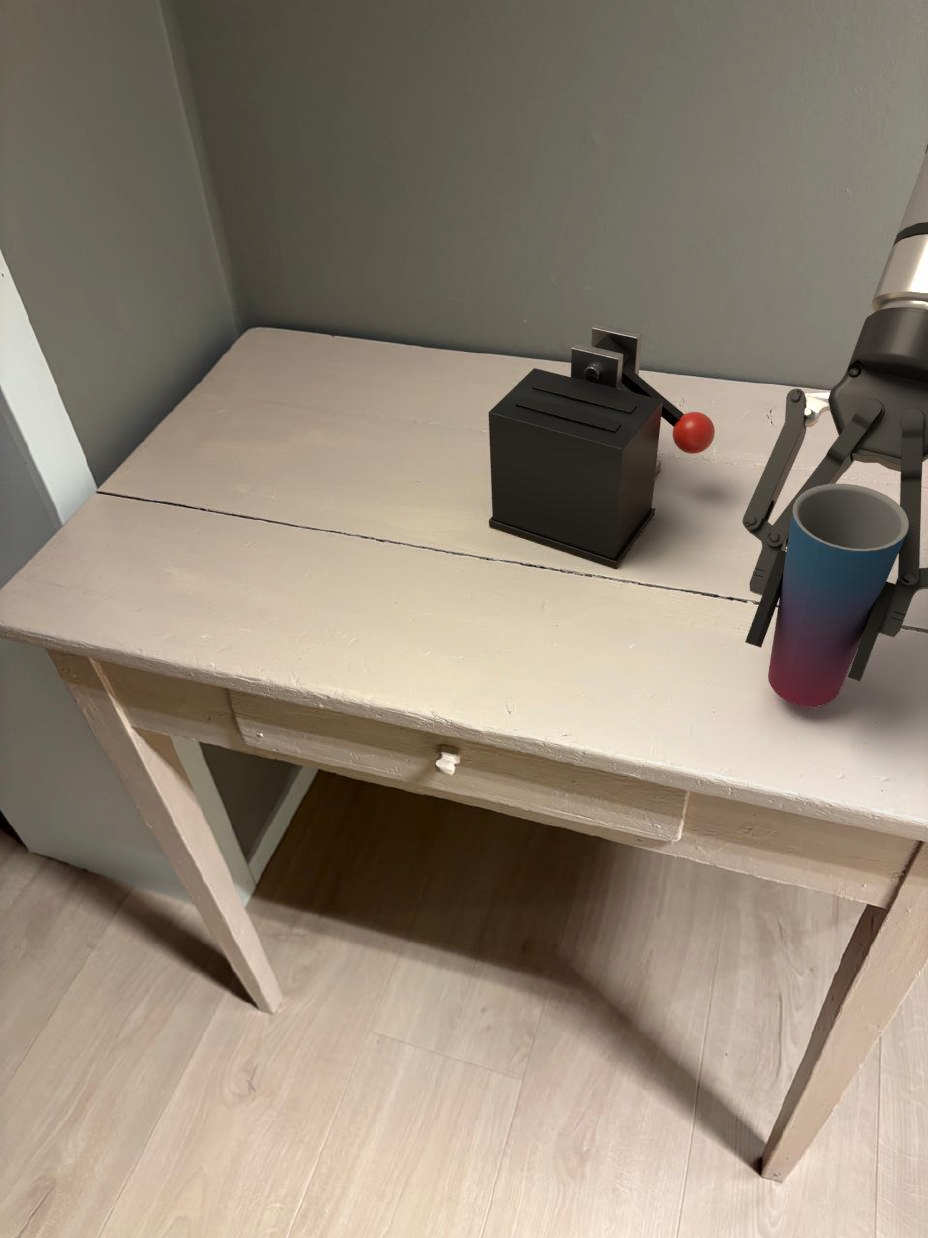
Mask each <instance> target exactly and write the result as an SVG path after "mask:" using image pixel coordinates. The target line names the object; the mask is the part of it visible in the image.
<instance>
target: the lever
mask: <svg viewBox="0 0 928 1238" xmlns="http://www.w3.org/2000/svg"><path fill="white" fill-rule="evenodd" d="M594 347H595V348H600V349H604V350H608V351H612V352H617V353H621V354H623V364H622V379H621V383H622V384H623V385H624V386H625V387H627V388H628V389H629V390H630V391H631V392H633V393H636V394H640V395H644V396H648V397H652V398H656V399H660V400H663V405H662V415H661V419H663V420H665V422H667V423H668V424H669V425H671V426H672V427H673V428H672V439H673V442H674V445H675V446H676V447H677V448H678V449H679V450H680V451H681V452H684V453H686V454H690V455H691V454H693V455H696V454H699V453H702V452H705V451H706V450H707V449H708V448H709V447H710V446H711V445H712V443H713V441H714V439H715V434H716V428H715V425H714V423H713V421H712V419H711V418H710V417H709V416H708V415H707V414H705V413H703V412H699V411H690V412H686V413H684V412H682V411H681V410H680V409H679V408H678V407H677V406H675V405H674V404H673V403H672V402H671V401H669V400H668V399H667V398H666V397H664V395H663V394H661V393H660V392H659V391H658V390H656V389H655V388H654V387H653V386H652V385H650V384H649V383H648V382H647V381H645V380H644V379H643V378H642V377H641V376H640V375H639V376H638V375H637V374H636V373H635V372H633V371H632V370H631V369H630V368H629V367H628V366H626V365H625V364H624V363H625V361H626V360H627V359H628V358H629V356H630V354H629V353H627V352H626V351H625V350H624V349H623V348H621V347H620V346H619V345H618V344H617V343H615V342H614V341H613V340H612V339H611V338H610V337H608V336H607V335H605V336H604V337H603V338H602V339H601V340H600V341H599V342H598V343H597V344H596V345H595V346H594Z"/></svg>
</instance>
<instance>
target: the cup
mask: <svg viewBox="0 0 928 1238" xmlns="http://www.w3.org/2000/svg"><path fill="white" fill-rule="evenodd" d="M908 529H909V520H908V518H907V515H906V513H905V512H904V510H903V509H902V507H901V506H900V503H898V502H896V501H895V500H894V499H893V498H891V497H890V496H888V495H887V494H884V493H882V492H880V491H878V490H875V489H873V488H870V487H867V486H862V485H859V484H858V485H857V484H852V483H835V484H826V485H821V486H817V487H814V488H811V489H809V490H807V491H805V492H804V493H802V494H801V495H800V496H799V497H798V498H797V499H796V501H795V503H794V505H793V511H792V517H791V524H790V531H789V538H788V544H787V547H786V549H787V550H786V558H785V565H784V572H783V579H782V585H781V592H780V598H779V600H778V604H777V606H778V607H777V614H776V618H775V625H774V633H773V640H772V645H771V646H772V647H771V653H770V660H769V666H768V673H767V679H768V684H769V685H770V687H771V689H772V690H773V691H774V692H775V694H776V695H778V696H779V697H780V698H781V699H783V700H785V701H787V702H789V703H791V704H794V705H797V706H802V707H807V708H809V707H811V708H813V707H820V706H824V705H827V704H830V703H831V702H833V701H834V700H835V699H836V698H837V697H838V696H839V694H840V692H841V689H842V687H843V684H844V682H845V680H846V678H847V676H848V674H849V671H850V668H851V666H852V663H853V660H854V658H855V655H856V652H857V650H858V647H859V644H860V642H861V639H862V636H863V634H864V631H865V628H866V626H867V623H868V620H869V617H870V615H871V612H872V609H873V607H874V604H875V601H876V599H877V598H878V596H879V594H880V593H881V591H882V589H883V587H884V586H885V584H886V581H887V582H888V579H889V576H890V574H891V572H892V569H893V568H894V565H895V562H896V560H897V558H898V555H899V551H900V548H901V546H902V544H903V541H904V539H905V537H906V534H907V532H908Z"/></svg>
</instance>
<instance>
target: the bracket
mask: <svg viewBox="0 0 928 1238" xmlns="http://www.w3.org/2000/svg"><path fill="white" fill-rule="evenodd" d="M605 335H607V336H608V337H610V338H611V339H612V340H613V341H614V342H615V343H617V344H618V345H619V346H620V347H621V348H623V349H624V350H625V351H626V352H627V353H629V354H630V356H629V358H628V359H627V360H626V361H625V363H624V364H625V365H626V366H628V367H629V368H630V369H631V370H632V371H633V372H635V373H636V374H637V375H638V376H639V377H640V374H639V373H640V367H641V366H640V365H641V354H642V353H641V352H642V341H643V333H642V332H638V331H633V330H629V329H624V328H621V327H615V326H612V325H611V326H610V325H606V324H601V323H595V324H594V325H593V326H592V327H591V341H590V342H591V343H590V345H587V344H582V343H578V342H576V343H574V345H573V346H572V347H571V350H570V351H571V355H570V377H572V378H576V379H580V380H584V381H588V382H592V383H596V384H600V385H604V386H608V387H612V388H616V389H620V390H624V391H628V392H631V391H630V390H629V389H628V388H627V387H625V386H624V385H623V384H622V383H621V379H622V364H623V354H621V353H617V352H612V351H608V350H604V349H600V348H595V347H594V346H595V345H596V344H597V343H598V342H599V341H600V340H601V339H602V338H603V337H604V336H605ZM632 393H633V392H632ZM661 467H662V459H660V458H657V462H656V472H655V477H657V475H658V473H659V472H660V471H661V469H662V468H661Z"/></svg>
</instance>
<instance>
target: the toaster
mask: <svg viewBox="0 0 928 1238" xmlns="http://www.w3.org/2000/svg"><path fill="white" fill-rule="evenodd" d="M662 405H663V400H660V399H656V398H652V397H648V396H644V395H640V394H636V393H632V392H628V391H624V390H620V389H616V388H612V387H608V386H604V385H600V384H596V383H592V382H588V381H584V380H580V379H576V378H572V377H571V376H568V375H564V374H560V373H556V372H552V371H548V370H543V369H540V368H536V367H533V368H532V369H531V371H529V372H528V374H526V375H524V377H523V378H522V379H521V380H520V381H519V382H518V383H517V384H516V385H515V386H514V387H512V389H511V390H509V392H508V393H506V394H505V396H503V398H501V400H499V401H498V402H497V403H496V404H495V405H494V406H493V407H492V408H491V409H490V410H489V411H488V413H487V415H488V434H489V435H488V436H489V439H488V440H489V460H490V482H491V483H490V486H491V487H490V489H491V512H492V513H491V514H492V516H491V517H490V518H489V519H488V527H489V528H491V529H494V530H497V531H501V532H504V533H506V534H509V535H513V536H516V537H518V538H522V539H524V540H528V541H531V542H534V543H535V544H540V545H542V546H546V547H548V548H552V549H555V550H557V551H561V552H563V553H566V554H568V555H569V554H570V555H573V556H575V557H578V558H581V559H584V560H587V561H590V562H593V563H595V564H599V565H603V566H605V567H609V568H611V569H614V570H617V568H618V567H619V566H620V564H621V563H622V562H623V560H624V559H625V557H626V556H627V555H628V553H629V552H630V550H631V549H632V548H633V546H634V545H635V543H636V542H637V541H638V539H639V538H640V537H641V535H642V534H643V532H644V531H645V530H646V528H647V527H648V526H649V524H650V523H651V521H653V519H654V517H655V515H656V508H654V507H653V499H654V488H655V482H656V481H655V480H656V476H655V472H656V462H657V459H658V452H659V442H660V434H661V433H660V432H661V422H662V417H661V415H662Z"/></svg>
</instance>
